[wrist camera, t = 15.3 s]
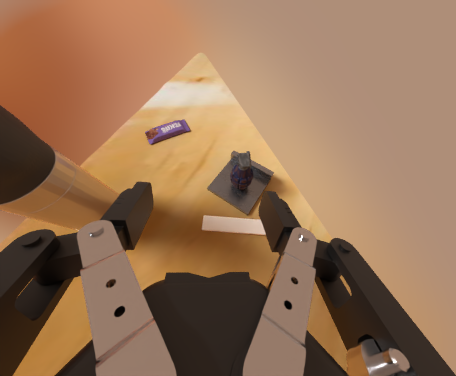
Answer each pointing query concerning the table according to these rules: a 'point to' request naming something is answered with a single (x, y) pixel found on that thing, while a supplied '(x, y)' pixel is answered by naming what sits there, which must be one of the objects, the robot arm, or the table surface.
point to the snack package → (166, 131)
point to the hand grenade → (242, 171)
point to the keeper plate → (234, 196)
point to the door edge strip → (233, 225)
